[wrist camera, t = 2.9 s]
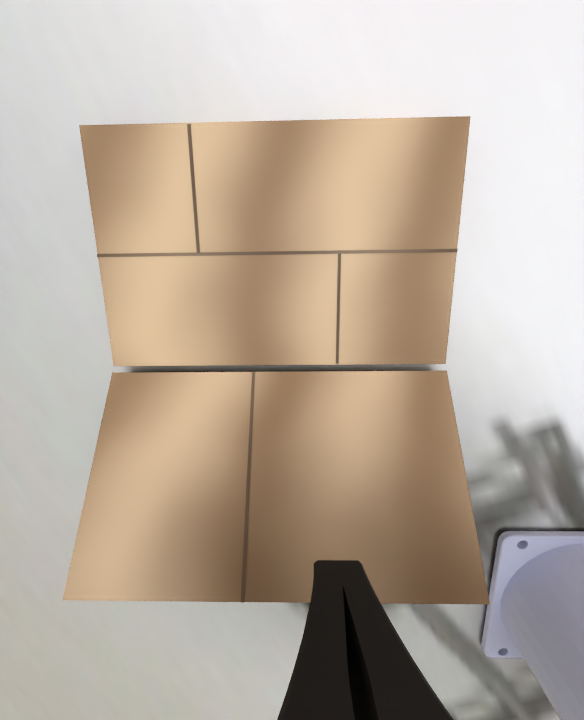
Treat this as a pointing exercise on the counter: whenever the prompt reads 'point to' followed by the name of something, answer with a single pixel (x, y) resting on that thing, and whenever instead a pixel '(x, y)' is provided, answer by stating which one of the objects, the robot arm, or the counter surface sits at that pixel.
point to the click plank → (276, 489)
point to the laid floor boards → (277, 239)
